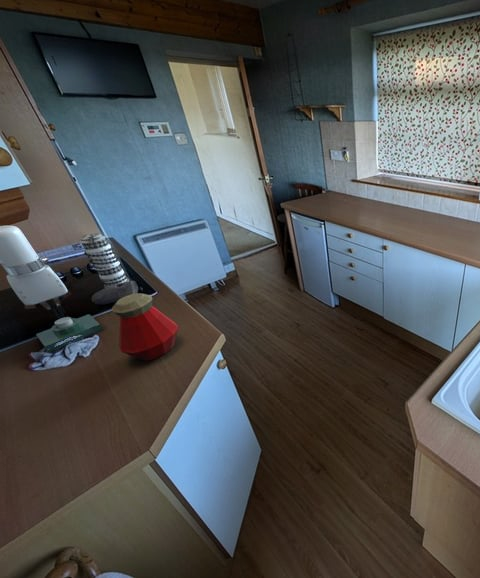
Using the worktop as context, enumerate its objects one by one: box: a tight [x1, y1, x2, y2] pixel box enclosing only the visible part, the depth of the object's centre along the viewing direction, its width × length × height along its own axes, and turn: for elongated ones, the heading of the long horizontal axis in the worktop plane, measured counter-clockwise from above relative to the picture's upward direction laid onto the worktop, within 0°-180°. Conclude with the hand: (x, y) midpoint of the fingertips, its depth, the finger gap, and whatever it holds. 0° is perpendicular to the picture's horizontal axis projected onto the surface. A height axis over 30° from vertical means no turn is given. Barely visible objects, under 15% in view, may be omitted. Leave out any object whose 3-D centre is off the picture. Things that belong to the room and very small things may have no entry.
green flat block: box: [35, 314, 104, 353], centre depth 100 cm, size 14×11×4 cm
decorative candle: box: [79, 233, 130, 289], centre depth 122 cm, size 9×9×25 cm
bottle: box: [111, 292, 179, 362], centre depth 89 cm, size 16×14×20 cm
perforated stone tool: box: [91, 280, 139, 306], centre depth 119 cm, size 15×5×7 cm, turn 128°
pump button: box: [54, 316, 74, 329], centre depth 99 cm, size 4×4×2 cm
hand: (60, 316), depth 98 cm, fingers closed
